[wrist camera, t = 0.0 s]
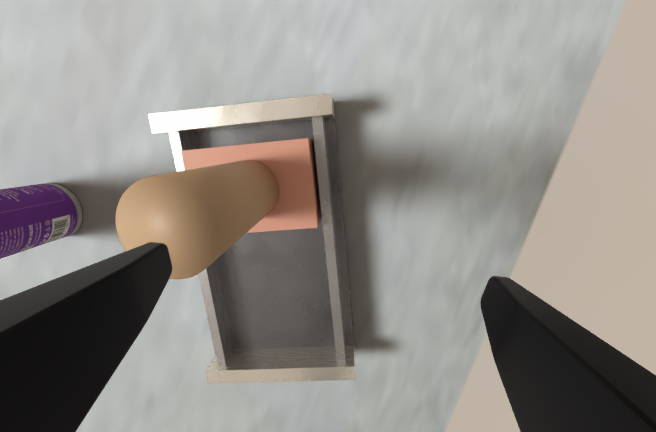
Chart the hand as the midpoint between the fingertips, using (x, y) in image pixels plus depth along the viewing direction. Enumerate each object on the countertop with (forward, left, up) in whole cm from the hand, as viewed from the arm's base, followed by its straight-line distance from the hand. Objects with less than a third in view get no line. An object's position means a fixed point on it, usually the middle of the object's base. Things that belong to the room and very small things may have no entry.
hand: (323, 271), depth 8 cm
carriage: (-4, +4, -14) cm, 15 cm away
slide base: (-7, +1, -15) cm, 17 cm away
